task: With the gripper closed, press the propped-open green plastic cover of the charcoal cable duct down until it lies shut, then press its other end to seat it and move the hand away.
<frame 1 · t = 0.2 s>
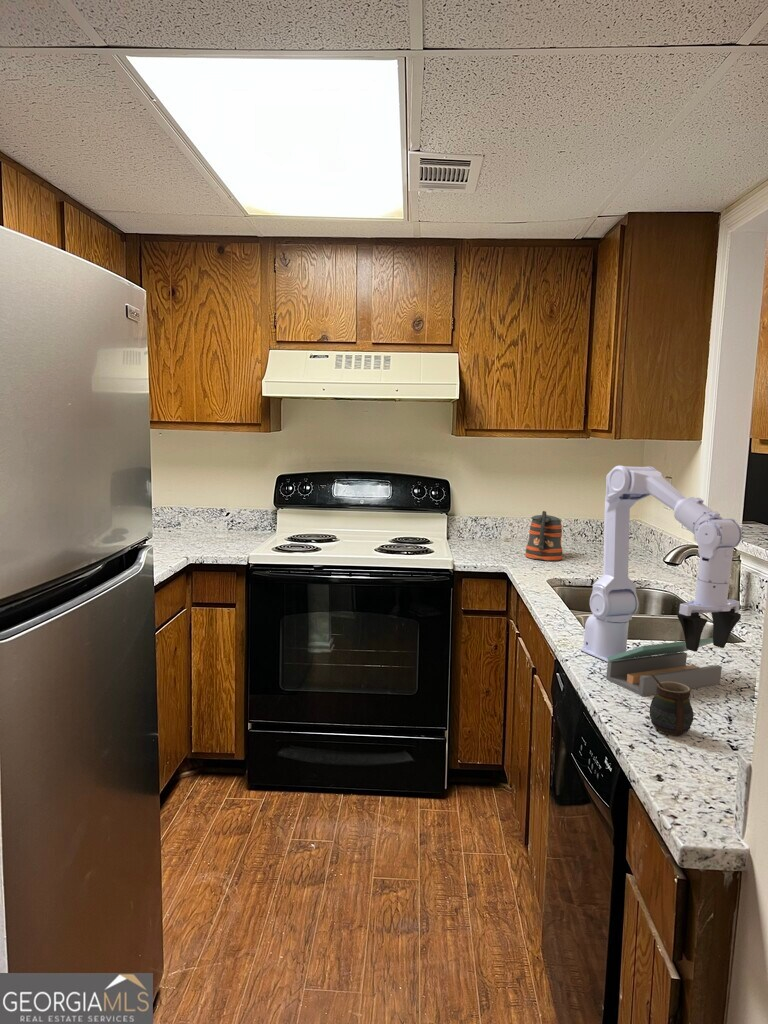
hand: (705, 648, 144), 10 cm above the worktop, tool pointing down, fingers open, 7 cm apart
cable duct: (663, 681, 154), on the worktop
mate gourd: (668, 731, 128), on the worktop
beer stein: (543, 559, 292), on the worktop
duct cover: (663, 649, 153), point 7 cm above the worktop, hinge at 30.0°
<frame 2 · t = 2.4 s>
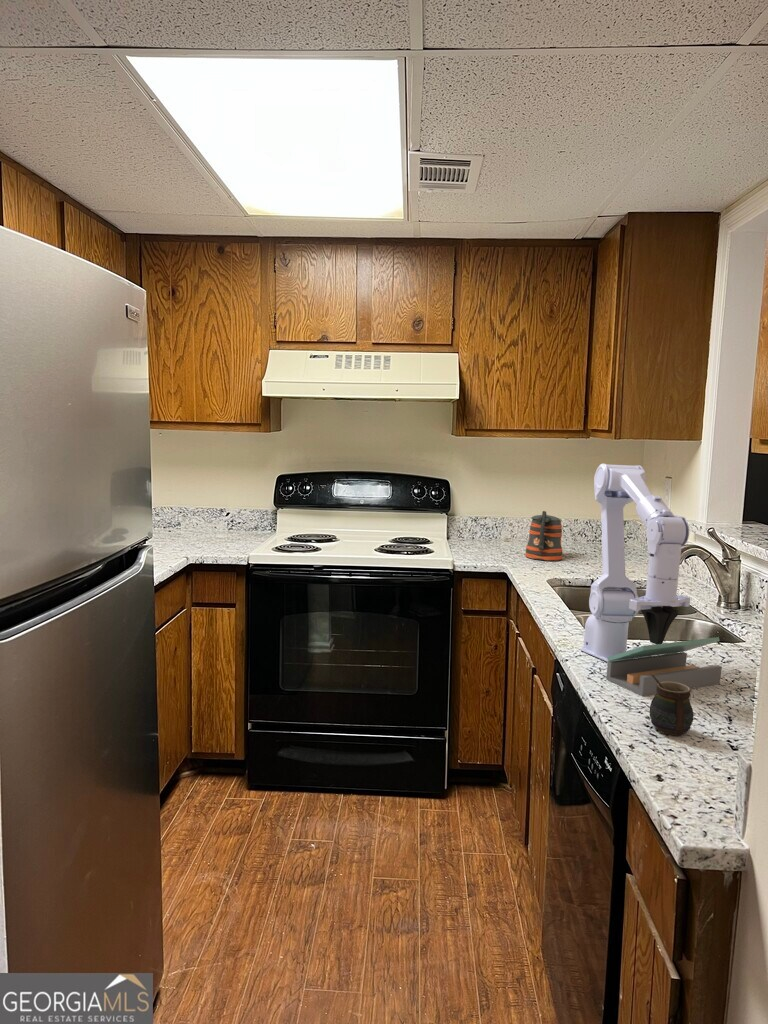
hand: (656, 643, 148), 10 cm above the worktop, tool pointing down, fingers closed, pressing on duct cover
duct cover: (663, 649, 153), point 7 cm above the worktop, hinge at 30.0°, touching gripper
everything else where it was.
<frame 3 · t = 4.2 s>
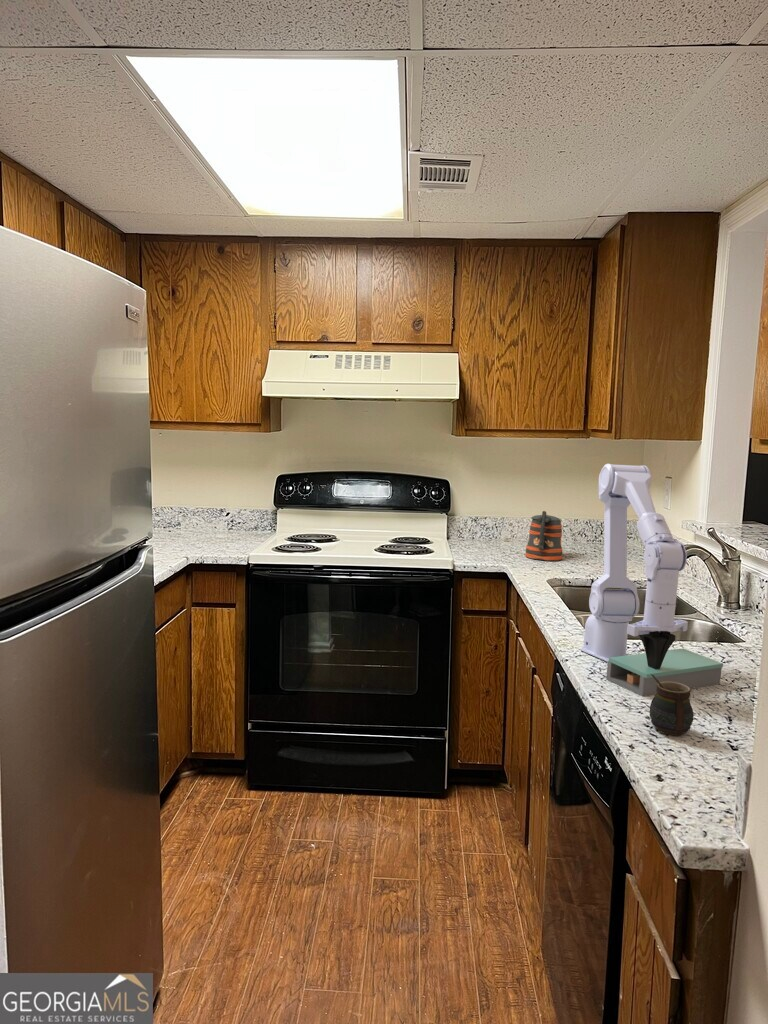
hand: (653, 667, 148), 5 cm above the worktop, tool pointing down, fingers closed, pressing on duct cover
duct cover: (665, 662, 153), point 4 cm above the worktop, hinge at -0.4°, touching cable duct, gripper
everything else where it was.
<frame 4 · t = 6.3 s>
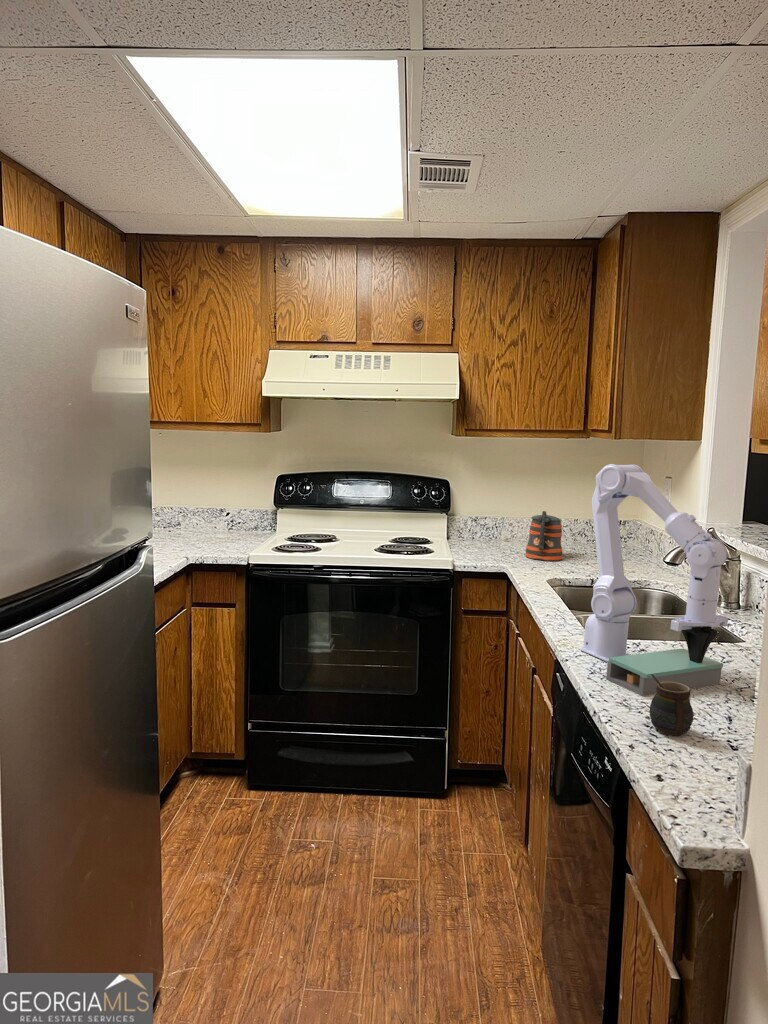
hand: (695, 661, 154), 5 cm above the worktop, tool pointing down, fingers closed, pressing on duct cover
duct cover: (665, 662, 153), point 4 cm above the worktop, hinge at -0.4°, touching cable duct, gripper
everything else where it was.
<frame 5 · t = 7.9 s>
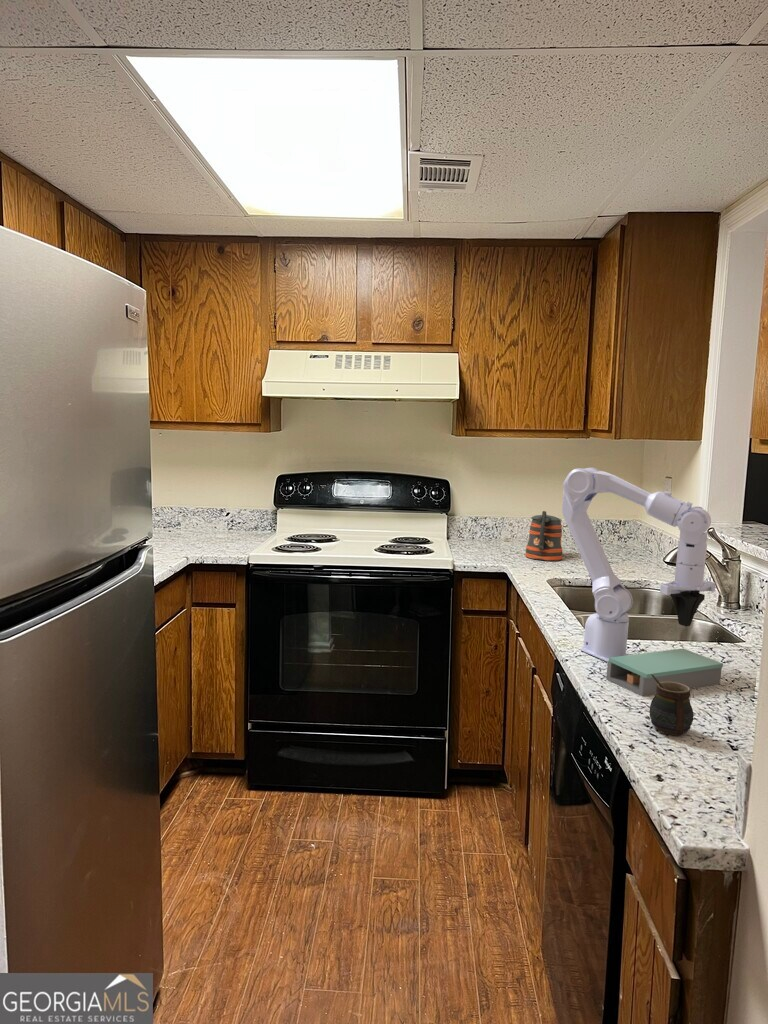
hand: (684, 625, 160), 10 cm above the worktop, tool pointing down, fingers closed
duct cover: (665, 662, 153), point 4 cm above the worktop, hinge at -0.4°, touching cable duct
everything else where it was.
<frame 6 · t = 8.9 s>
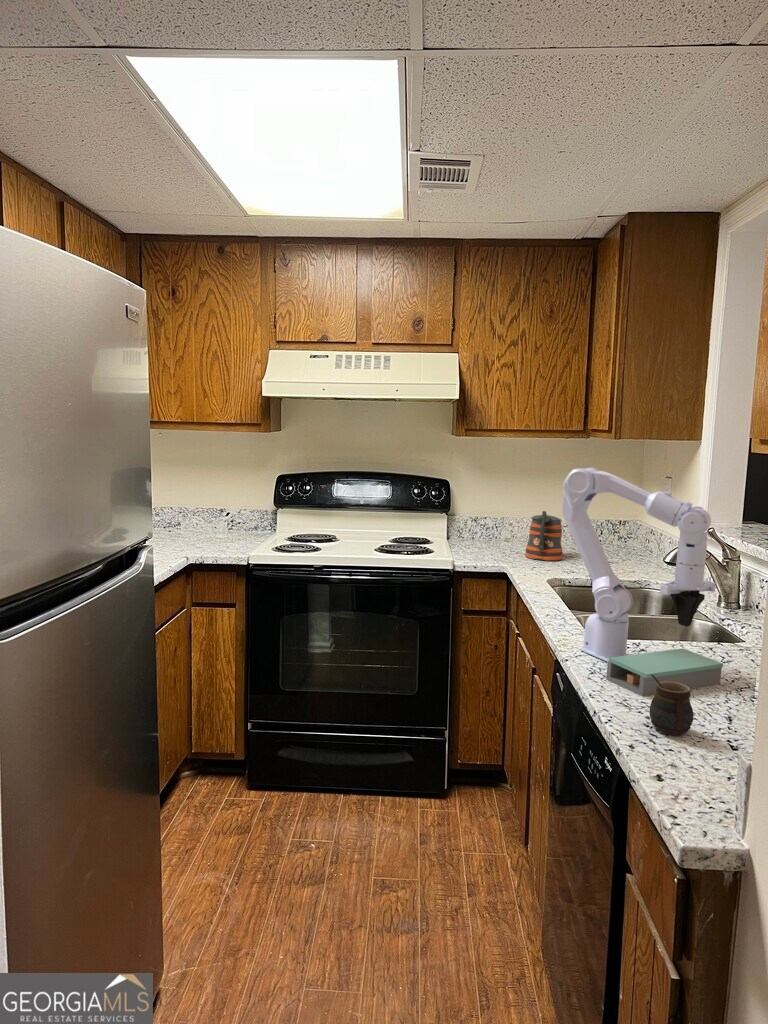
hand: (684, 625, 160), 10 cm above the worktop, tool pointing down, fingers closed
nothing on the worktop moved.
at the end: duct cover at +0° (first picture: +30°) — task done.
